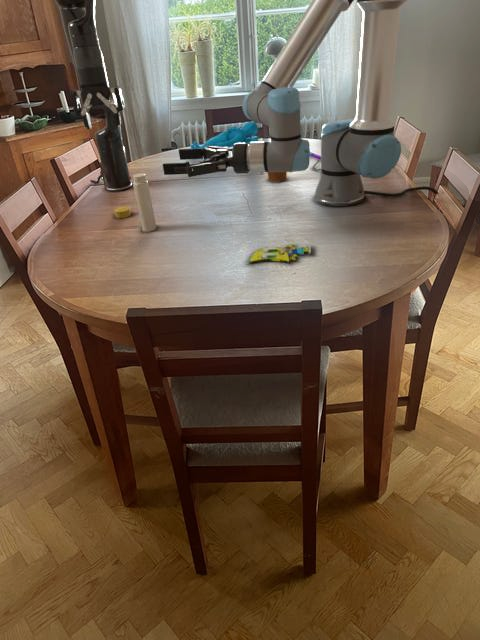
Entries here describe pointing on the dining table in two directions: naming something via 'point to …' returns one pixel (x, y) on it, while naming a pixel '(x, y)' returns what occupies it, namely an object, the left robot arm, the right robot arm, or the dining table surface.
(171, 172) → the right robot arm
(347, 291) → the dining table surface
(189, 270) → the dining table surface
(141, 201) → the white bottle
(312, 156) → the checkered curved strip
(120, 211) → the lid
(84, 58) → the left robot arm
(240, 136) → the toy
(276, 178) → the disposable coffee cup
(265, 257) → the toy
